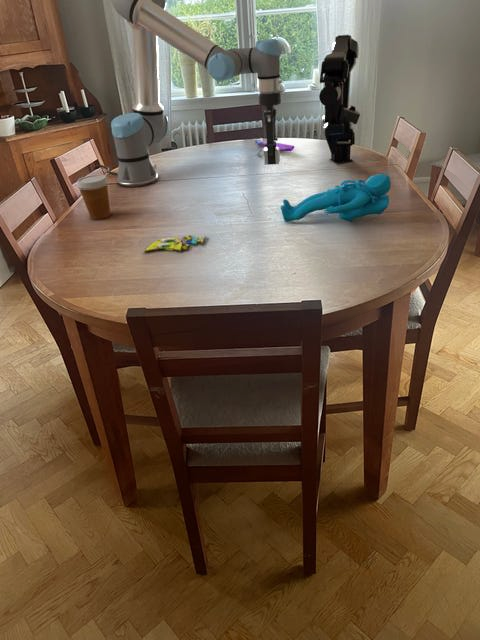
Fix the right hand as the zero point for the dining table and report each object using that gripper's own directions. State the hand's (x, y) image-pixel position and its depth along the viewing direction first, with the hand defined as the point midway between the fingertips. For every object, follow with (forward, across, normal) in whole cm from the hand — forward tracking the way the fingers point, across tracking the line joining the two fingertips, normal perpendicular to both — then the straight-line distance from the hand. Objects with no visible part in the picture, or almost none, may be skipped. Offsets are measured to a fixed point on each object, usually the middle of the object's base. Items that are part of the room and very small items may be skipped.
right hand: (332, 150), depth 163 cm
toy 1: (+10, -53, +44) cm, 70 cm away
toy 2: (+10, -38, +1) cm, 40 cm away
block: (+5, +7, +21) cm, 23 cm away
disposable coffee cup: (+10, -29, +74) cm, 81 cm away
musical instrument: (+10, +44, +25) cm, 52 cm away
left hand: (+5, +7, +21) cm, 23 cm away
